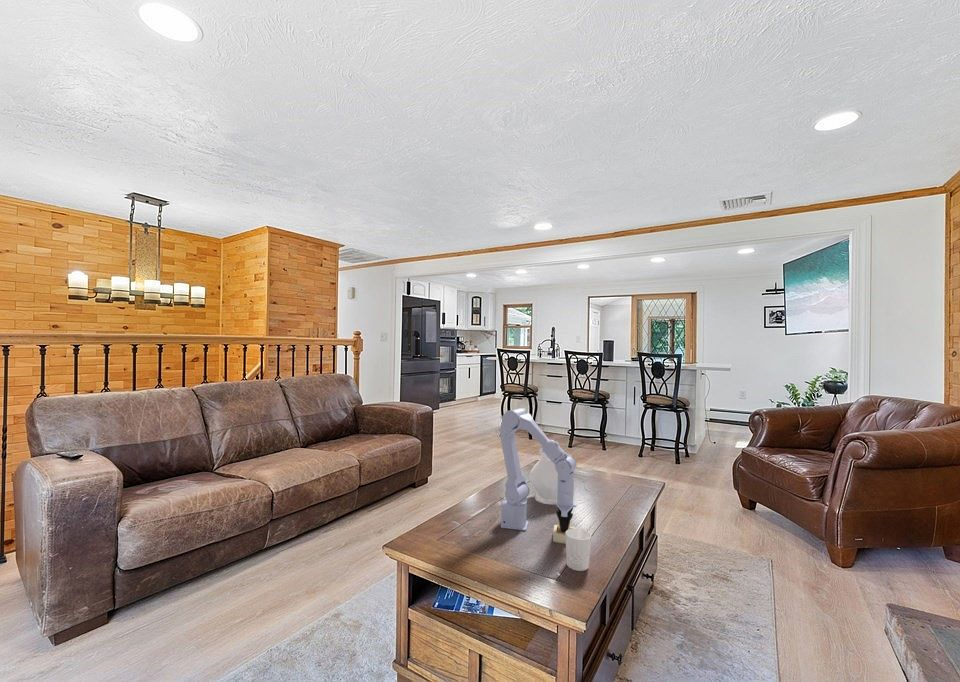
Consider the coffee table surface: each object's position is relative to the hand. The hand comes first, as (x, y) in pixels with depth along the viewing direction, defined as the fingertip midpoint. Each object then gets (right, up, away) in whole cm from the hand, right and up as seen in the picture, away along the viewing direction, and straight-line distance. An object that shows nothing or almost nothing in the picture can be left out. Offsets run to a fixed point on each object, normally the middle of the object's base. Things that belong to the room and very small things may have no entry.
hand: (564, 529), depth 153 cm
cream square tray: (0, -3, 0) cm, 3 cm away
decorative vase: (+1, -4, +38) cm, 38 cm away
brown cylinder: (0, -2, 0) cm, 2 cm away
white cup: (+1, -4, -18) cm, 18 cm away
